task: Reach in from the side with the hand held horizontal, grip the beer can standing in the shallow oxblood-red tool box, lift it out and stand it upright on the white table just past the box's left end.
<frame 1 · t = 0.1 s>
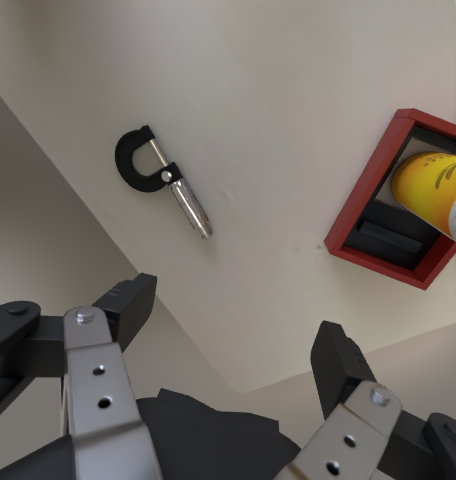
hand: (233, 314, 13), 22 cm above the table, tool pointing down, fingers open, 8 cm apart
micrometer: (163, 190, 35), on the table
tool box: (405, 200, 31), on the table
beer can: (418, 179, 31), resting in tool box
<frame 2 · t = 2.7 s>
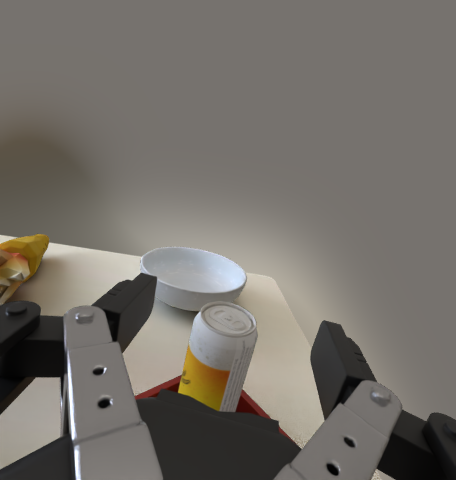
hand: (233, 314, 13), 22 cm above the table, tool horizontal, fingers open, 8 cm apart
serving bowl: (189, 296, 58), on the table
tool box: (212, 456, 29), on the table
beer can: (197, 437, 30), resting in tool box
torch: (18, 281, 50), on the table
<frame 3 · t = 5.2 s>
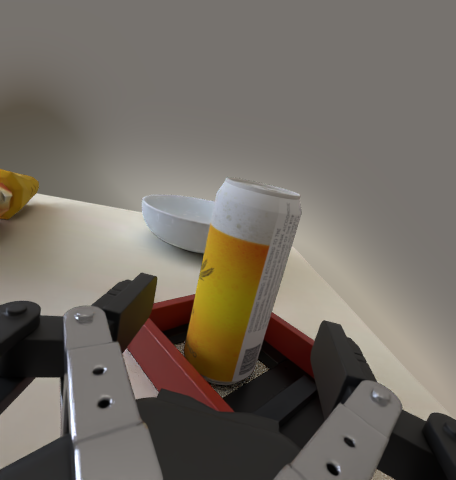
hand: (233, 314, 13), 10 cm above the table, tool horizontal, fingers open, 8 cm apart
serving bowl: (196, 245, 51), on the table
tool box: (238, 381, 22), on the table
beer can: (217, 363, 24), resting in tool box
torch: (2, 218, 43), on the table
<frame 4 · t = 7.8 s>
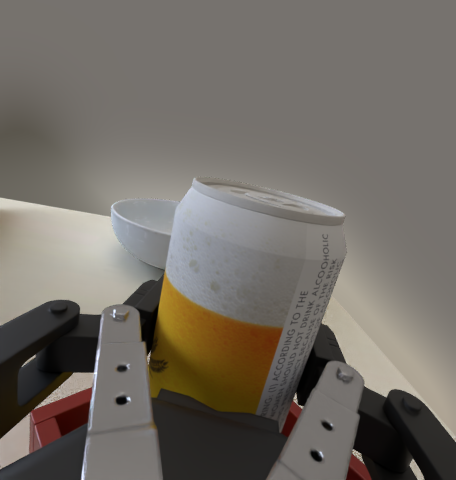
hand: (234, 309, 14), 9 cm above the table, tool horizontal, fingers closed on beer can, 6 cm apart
serving bowl: (182, 261, 42), on the table
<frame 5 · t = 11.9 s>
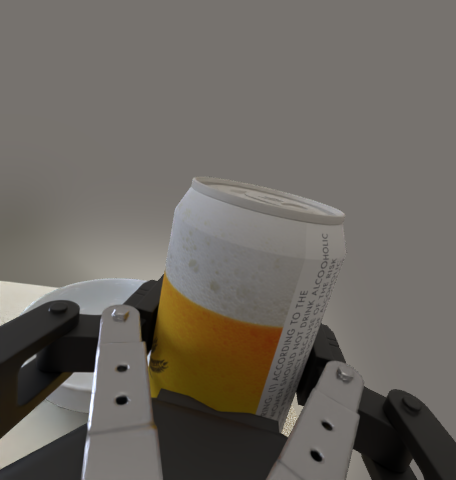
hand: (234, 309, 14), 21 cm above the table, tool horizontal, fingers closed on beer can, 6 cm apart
serving bowl: (116, 365, 35), on the table
when the fingers open (9 cm above the table, at t = 16.0 s): beer can stays where it is, on the table.
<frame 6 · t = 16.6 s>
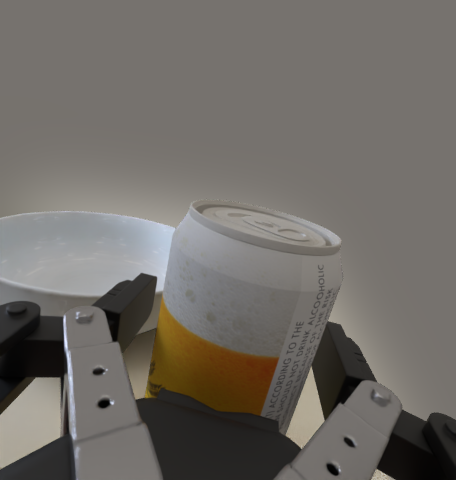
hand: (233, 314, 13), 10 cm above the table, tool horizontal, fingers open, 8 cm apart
serving bowl: (101, 303, 29), on the table
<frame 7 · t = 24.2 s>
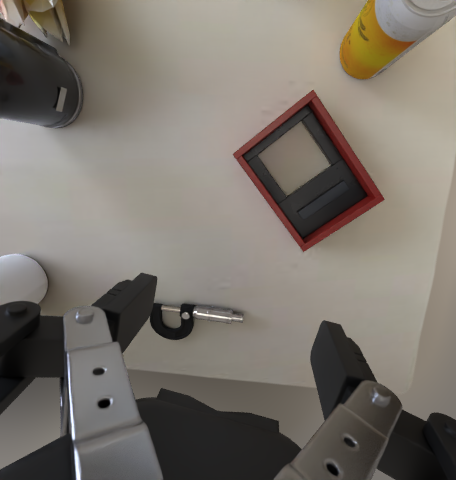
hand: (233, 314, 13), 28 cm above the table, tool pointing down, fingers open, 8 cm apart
micrometer: (196, 321, 46), on the table
bottle: (25, 277, 48), on the table
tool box: (304, 175, 38), on the table
beer can: (363, 53, 34), on the table
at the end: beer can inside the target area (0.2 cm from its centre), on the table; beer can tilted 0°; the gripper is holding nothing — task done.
